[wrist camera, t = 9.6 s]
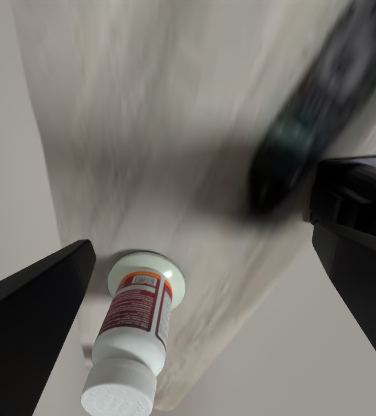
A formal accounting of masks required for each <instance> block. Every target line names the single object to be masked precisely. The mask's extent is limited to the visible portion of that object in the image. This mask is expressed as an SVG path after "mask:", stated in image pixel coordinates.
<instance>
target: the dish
mask: <svg viewBox="0 0 376 416" xmlns="http://www.w3.org/2000/svg"><path fill="white" fill-rule="evenodd" d="M136 269H153V270H156V271H158V272H160V273H162V274H163V275H164V276H165V277H166V278H167V279H168V280H169V281H170V283H171V285H172V289H173V297H172V305H171V310H172V309H174V308H175V307H177V306H178V305H179V304H180V302H181V301H182V299H183V297H184V293H185V279H184V276H183V273H182V272H181V270H180V269H179V267H178V266H177V265H176V264H175V263H174V262H172V261H171V260H169V259H168V258H166V257H164V256H162V255H159V254H155V253H150V252H137V253H132V254H129V255H126V256H124V257H122V258H121V259H119V260H118V261H117V262H116V263H115V264H114V266H113V267H112V269H111V271H110V273H109V276H108V281H107V282H108V289H109V292H110V294H111V296H112V297H113V298H114V296H115V293H116V291H117V288H118V286H119V284H120V282H121V280H122V278H123V277H124V276H125V275H126V274H127V273H129V272H131V271H133V270H136Z"/></svg>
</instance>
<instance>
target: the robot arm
mask: <svg viewBox="0 0 376 416" xmlns="http://www.w3.org/2000/svg"><path fill="white" fill-rule="evenodd" d="M325 164H326V167H325V168H324V169H323V166H324V165H325ZM310 210H311V213H310V219H309V221H310V223H311V224H312V225H313V226H314V230H313V237H312V244H313V247H314V249H315V251H316V253H317V255H318V257H319V259H320V261H321V263H322V265H323V267H324V269H325V271H326V273H327V275H328V277H329V279H330V280H331V282H332V283H333V285H334V287H335V288H336V290H337V291H338V293H339V294H340V296H341V297H342V299H343V301H344V302H345V304H346V305H347V307H348V308H349V310H350V311H351V313H352V314H353V316H354V318H355V319H356V321H357V322H358V324H359V325H360V327H361V329H362V330H363V332H364V333H365V335H366V336H367V338H368V339H369V341H370V343H371V344H372V346H373V347H374V349H375V350H376V157H365V158H351V159H338V160H324V161H321V162H320V163H319V164H318V168H317V175H316V181H315V184H314V185H313V189H312V195H311V202H310ZM316 219H317V221H316V222H314V220H316ZM95 262H96V255H95V252H94V249H93V246H92V243H91V241H90V240H89V239H84V240H78V241H76V242H74V243H72V244H70V245H68V246H66V247H64V248H62V249H61V250H59V251H57V252H55V253H53V254H51V255H49V256H47V257H45V258H44V259H41V260H39V261H38V262H36V263H34V264H32V265H30V266H28V267H26V268H24V269H22V270H20V271H18V272H17V273H15V274H13V275H11V276H9V277H7V278H5V279H3V280H1V281H0V416H32V415H33V413H34V410H35V408H36V406H37V403H38V401H39V399H40V397H41V394H42V392H43V390H44V387H45V385H46V383H47V381H48V378H49V376H50V374H51V371H52V369H53V367H54V364H55V362H56V360H57V358H58V355H59V353H60V351H61V349H62V346H63V344H64V342H65V339H66V337H67V335H68V333H69V330H70V328H71V326H72V324H73V321H74V319H75V317H76V314H77V312H78V310H79V308H80V305H81V303H82V301H83V298H84V296H85V293H86V290H87V288H88V284H89V281H90V278H91V275H92V272H93V268H94V265H95Z"/></svg>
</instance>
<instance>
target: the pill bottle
mask: <svg viewBox="0 0 376 416" xmlns="http://www.w3.org/2000/svg"><path fill="white" fill-rule="evenodd" d="M172 297H173V289H172V285H171V283H170V281H169V280H168V279H167V278H166V277H165V276H164V275H163V274H162V273H160V272H158V271H156V270H153V269H136V270H133V271H131V272H129V273H127V274H126V275H125V276H124V277H123V278H122V280H121V282H120V284H119V286H118V288H117V291H116V293H115V296H114V298H113V300H112V303H111V305H110V308H109V310H108V313H107V315H106V317H105V320H104V322H103V324H102V327H101V329H100V331H99V334H98V336H97V338H96V340H95V343H94V346H93V349H92V363H93V365H94V366H93V367H92V368H91V370H90V373H89V375H88V378H87V381H86V384H85V386H84V389H83V391H82V395H81V404H82V406H83V408H84V409H85V410H86V411H87V412H88V413H90V414H91V415H92V416H149V414H150V413H151V411H152V407H153V402H154V395H155V390H156V385H157V380H156V376H157V375H158V374H159V373H160V371H161V370H162V368H163V365H164V362H165V356H166V347H167V338H168V330H169V322H170V313H171V305H172Z"/></svg>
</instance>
